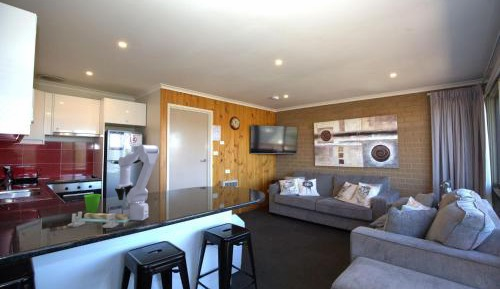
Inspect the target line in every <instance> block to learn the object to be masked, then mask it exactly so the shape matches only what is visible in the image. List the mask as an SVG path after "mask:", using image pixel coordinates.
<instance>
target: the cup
mask: <svg viewBox="0 0 500 289" xmlns="http://www.w3.org/2000/svg"><path fill="white" fill-rule="evenodd" d="M101 196H102V194H99V193H93V194H92V193H91V194H85V195H83V197H84V203H85V211H86V213H98V209H99V206H100V205H99V204H100V199H101Z"/></svg>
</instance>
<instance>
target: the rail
mask: <svg viewBox="0 0 500 289" xmlns="http://www.w3.org/2000/svg"><path fill="white" fill-rule="evenodd" d="M107 215H111V213H100V212H97V213H87V212H86V213H84V214H83V218H87V219H107ZM128 217H129V214H124V213H123V214H122V213H120V214H119V213H115V220H127V219H128Z"/></svg>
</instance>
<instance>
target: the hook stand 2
mask: <svg viewBox="0 0 500 289" xmlns="http://www.w3.org/2000/svg"><path fill="white" fill-rule="evenodd" d="M110 214H111V215H107V219H106V223H104V224H103V225H102V226H101V228H104V229H113V228H115V227H117V226H118V225H120V223H116V222H115V214H116V212H111V213H110Z"/></svg>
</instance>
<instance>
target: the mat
mask: <svg viewBox="0 0 500 289" xmlns="http://www.w3.org/2000/svg"><path fill="white" fill-rule="evenodd" d="M129 219H130V216H128V219H127V220H115V222H116V223H119V224H125V223H127V222H129V221H130V220H129ZM82 221H85V222H86V223H104V224H106V219H87V218H84V217H82Z"/></svg>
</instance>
